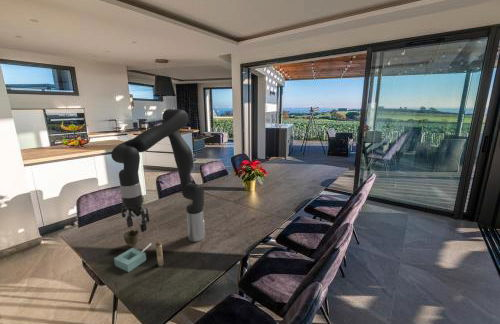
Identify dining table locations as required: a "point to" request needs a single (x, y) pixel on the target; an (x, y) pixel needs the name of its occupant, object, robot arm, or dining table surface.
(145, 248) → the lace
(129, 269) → the teal open tray
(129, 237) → the cup
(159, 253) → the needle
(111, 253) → the dining table surface
